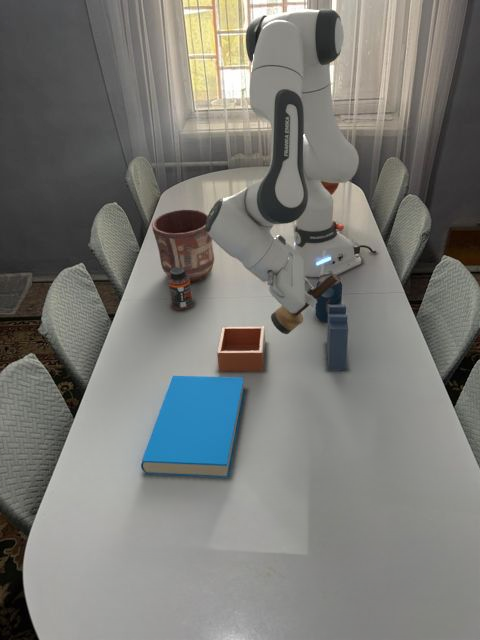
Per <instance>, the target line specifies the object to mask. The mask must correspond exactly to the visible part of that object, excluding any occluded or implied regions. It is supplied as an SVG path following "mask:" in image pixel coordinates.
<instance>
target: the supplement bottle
mask: <svg viewBox="0 0 480 640" xmlns="http://www.w3.org/2000/svg"><path fill="white" fill-rule="evenodd" d="M170 273H171V276H170V277H169V276H168V279H167V280H168V287H169V294H170V299H171V303H172V304H171V305H172V307H173V308H174V309H175V310H180V311H182V310H183V311H184V310H188V309H190V308H191V307H192V306H193V304H194V300H193V294H192V287H191V283H190V279H189V276H188V275H186V274H185V270H184V268H181V267H176V268H173V269H171V271H170Z"/></svg>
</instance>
